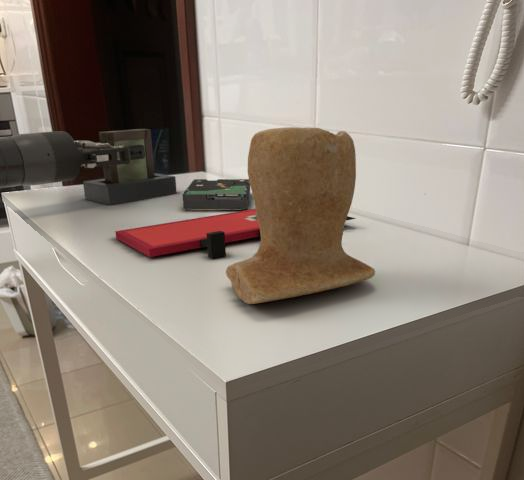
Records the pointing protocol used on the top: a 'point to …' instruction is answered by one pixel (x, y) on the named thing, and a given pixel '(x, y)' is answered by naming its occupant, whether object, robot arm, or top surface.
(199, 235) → the red board with handle
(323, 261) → the brown stone sculpture
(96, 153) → the robot arm
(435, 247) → the top surface
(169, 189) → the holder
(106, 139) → the picture frame
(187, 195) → the disk drive
